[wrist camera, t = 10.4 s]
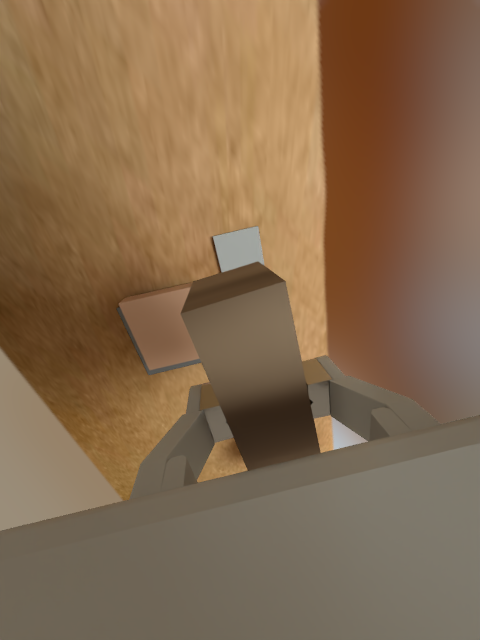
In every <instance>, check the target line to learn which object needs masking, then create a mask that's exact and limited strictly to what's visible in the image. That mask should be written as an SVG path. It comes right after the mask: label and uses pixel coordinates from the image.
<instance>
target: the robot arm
mask: <svg viewBox="0 0 480 640" xmlns="http://www.w3.org/2000/svg"><path fill="white" fill-rule="evenodd" d="M302 365H303V370H304V375H305V380H306V384H307V389H308V394H309V399H310V404H311V409H312V414H313V419H314V418H319V417H323V416H328V415H331V416H332V417H333V418H335V419H336V420H338V421H339V422H341V423H342V424H344V425H345V426H346V427H348V428H350V429H351V430H352V431H354V432H355V433H357V434H358V435H360V436H361V437H363V438H364V439H366V440H367V441H369V442H365V443H361V444H356V445H353V446H348V447H344V448H340V449H336V450H332V451H328V452H323V453H319V454H315V455H311V456H307V457H303V458H299V459H295V460H290V461H286V462H282V463H278V464H274V465H270V466H266V467H262V468H257V469H253V470H249V471H245V472H241V473H237V474H233V475H229V476H224V477H220V478H216V479H212V480H208V481H204V482H200V483H198V482H197V479H198V477H199V475H200V473H201V471H202V469H203V467H204V465H205V463H206V461H207V459H208V457H209V454H210V452H211V450H212V448H213V446H214V444H215V442H219V441H223V440H226V439H230V438H234V437H233V435H232V432H231V430H230V428H229V425H228V423H227V421H226V418H225V416H224V414H223V411H222V409H221V407H220V405H219V402H218V400H217V398H216V395H215V393H214V391H213V388H212V386H211V384H210V382H209V383H204V384H200V385H195V386H191V388H190V391H189V397H188V404H187V410H186V414H184V415H182V416H181V417H180V418H179V420H178V421H177V422H176V423H175V424H174V425H173V427H172V428H171V429H170V430H169V431H168V432H167V434H166V435H165V436H164V437H163V438H162V440H161V441H160V442H159V443H158V444H157V445H156V447H155V448H154V449H153V450H152V451H151V452H150V454H149V455H148V456H147V457H146V458H145V459H144V461H143V462H142V463H141V464H140V468H139V471H138V474H137V477H136V480H135V484H134V487H133V490H132V493H131V496H130V499H129V500H125V501H121V502H117V503H113V504H109V505H105V506H101V507H97V508H93V509H88V510H84V511H80V512H76V513H72V514H68V515H64V516H60V517H55V518H51V519H47V520H43V521H39V522H35V523H31V524H27V525H22V526H18V527H14V528H10V529H6V530H2V531H0V640H480V415H476V416H472V417H468V418H464V419H460V420H456V421H451V422H447V423H443V424H440V423H439V422H438V421H437V420H436V419H434V418H433V417H432V416H431V415H430V414H429V413H428V412H427V411H425V410H424V409H423V408H422V407H421V406H420V405H418V404H417V403H416V402H415V401H414V400H413V399H410V398H407V397H405V396H402V395H399V394H397V393H394V392H391V391H388V390H386V389H383V388H380V387H378V386H375V385H372V384H370V383H367V382H364V381H361V380H359V379H356V378H353V377H351V376H345V375H344V374H343V373H342V372H341V371H340V370H339V369H338V367H337V366H336V365H335V364H334V363H333V362H332V361H331V360H330V358H329V357H328V356H326V355H324V356H320V357H317V358H314V359H310V360H306V361H302Z"/></svg>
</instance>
